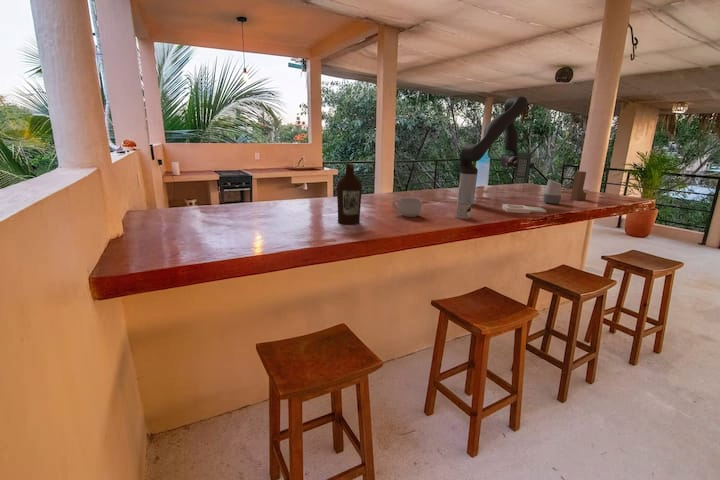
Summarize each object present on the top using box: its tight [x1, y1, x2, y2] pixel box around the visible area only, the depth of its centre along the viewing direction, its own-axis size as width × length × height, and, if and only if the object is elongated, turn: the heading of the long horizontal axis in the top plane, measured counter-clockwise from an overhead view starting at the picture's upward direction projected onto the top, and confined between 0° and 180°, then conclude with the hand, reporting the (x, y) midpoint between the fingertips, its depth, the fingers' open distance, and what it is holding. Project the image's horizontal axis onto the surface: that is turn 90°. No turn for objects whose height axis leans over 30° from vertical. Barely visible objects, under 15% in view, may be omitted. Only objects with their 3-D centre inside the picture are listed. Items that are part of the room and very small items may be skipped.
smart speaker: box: [543, 179, 563, 205], centre depth 219 cm, size 10×9×14 cm
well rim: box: [501, 203, 532, 214], centre depth 196 cm, size 12×12×2 cm
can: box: [513, 151, 532, 184], centre depth 190 cm, size 6×6×15 cm
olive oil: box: [336, 163, 363, 226], centre depth 156 cm, size 11×11×25 cm
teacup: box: [392, 197, 423, 218], centre depth 176 cm, size 14×11×8 cm
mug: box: [455, 202, 472, 220], centre depth 177 cm, size 10×7×7 cm, turn 160°
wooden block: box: [570, 170, 588, 201], centre depth 236 cm, size 9×4×18 cm, turn 115°
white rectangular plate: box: [525, 205, 547, 214], centre depth 199 cm, size 8×10×1 cm
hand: (523, 165), depth 189 cm, fingers closed on can, 6 cm apart
